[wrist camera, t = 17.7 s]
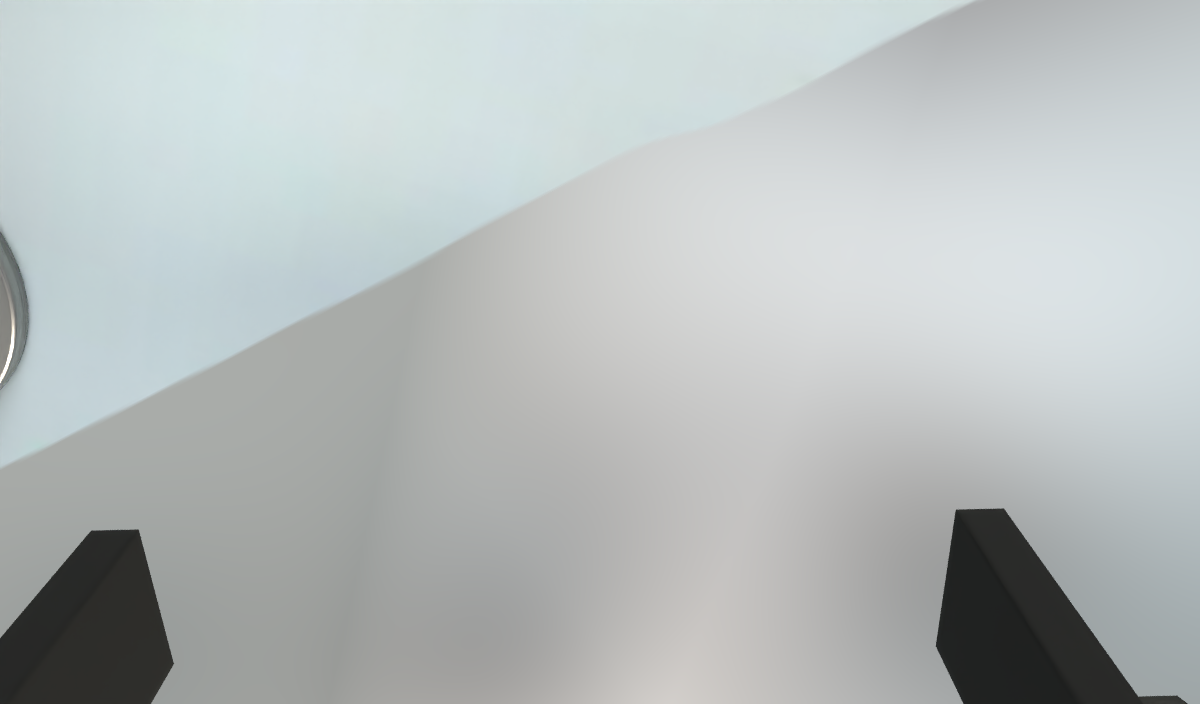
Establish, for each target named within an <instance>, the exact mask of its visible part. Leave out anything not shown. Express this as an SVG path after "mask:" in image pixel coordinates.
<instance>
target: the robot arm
mask: <svg viewBox="0 0 1200 704" xmlns="http://www.w3.org/2000/svg"><path fill="white" fill-rule="evenodd" d="M27 331H28V305H27V297H26V292H25V287H24V283H23V279H22V276H21V273H20V270H19V267H18V265H17V262H16V260H15V258H14V256H13V253H12V251H11V249H10V248H9V246H8V244H7V242H6V240H5V238H4V237H3V235H2V234H1V232H0V389H1V388H2V387H3V386H4V385H5V384H6V382H7V381H8V380H9V378H10V377H11V376H12V374H13V373H14V371H15V369H16V367H17V365H18V363H19V361H20V359H21V356H22V353H23V350H24V347H25V343H26V338H27ZM936 647H937V649H938V652H939V654H940V655H941V658H942V660H943V662H944V664H945V666H946V668H947V670H948V672H949V674H950V676H951V679H952V681H953V683H954V685H955V687H956V689H957V691H958V693H959V695H960V697H961V699H962V701H963V704H1187V703H1186V702H1185V701H1183V700H1182V699H1181V698H1179V697H1178V696H1150V697H1149V696H1146V697H1138V696H1137V694H1136V693H1135V692H1134V690H1133V689H1132V687H1131V686H1130V685H1129V683H1128V682H1127V681H1126V679H1125V678H1124V676H1123V675H1122V673H1121V672H1120V671H1119V669H1118V668H1117V666H1116V665H1115V664H1114V662H1113V661H1112V659H1111V658H1110V657H1109V655H1108V654H1107V652H1106V651H1105V650H1104V648H1103V647H1102V646H1101V644H1100V643H1099V641H1098V640H1097V638H1096V637H1095V636H1094V634H1093V633H1092V631H1091V630H1090V629H1089V627H1088V626H1087V624H1086V623H1085V622H1084V620H1083V619H1082V617H1081V616H1080V615H1079V613H1078V612H1077V610H1076V609H1075V608H1074V606H1073V605H1072V603H1071V602H1070V601H1069V599H1068V598H1067V596H1066V595H1065V594H1064V592H1063V591H1062V589H1061V588H1060V587H1059V585H1058V584H1057V583H1056V581H1055V580H1054V578H1053V577H1052V575H1051V574H1050V573H1049V571H1048V570H1047V568H1046V567H1045V566H1044V564H1043V563H1042V562H1041V560H1040V559H1039V557H1038V556H1037V554H1036V553H1035V552H1034V550H1033V549H1032V547H1031V546H1030V545H1029V543H1028V542H1027V540H1026V539H1025V538H1024V536H1023V535H1022V533H1021V532H1020V531H1019V529H1018V528H1017V527H1016V525H1015V524H1014V522H1013V521H1012V520H1011V518H1010V517H1009V515H1008V514H1007V512H1006V511H1005V510H1004V509H967V510H956V512H955V520H954V526H953V533H952V540H951V546H950V553H949V561H948V568H947V574H946V581H945V587H944V594H943V601H942V608H941V614H940V621H939V628H938V635H937V642H936ZM173 664H174V663H173V659H172V655H171V651H170V648H169V644H168V641H167V636H166V632H165V629H164V625H163V621H162V617H161V613H160V610H159V606H158V602H157V598H156V594H155V590H154V587H153V583H152V579H151V575H150V571H149V567H148V564H147V560H146V556H145V552H144V548H143V545H142V541H141V537H140V533H139V530H104V531H91V532H90V533H89V534H88V535H87V536H86V537H85V539H84V540H83V541H82V542H81V543H80V545H79V546H78V547H77V548H76V549H75V551H74V552H73V553H72V554H71V555H70V556H69V558H68V559H67V560H66V561H65V562H64V563H63V565H62V566H61V567H60V568H59V569H58V571H57V572H56V573H55V574H54V575H53V576H52V578H51V579H50V580H49V581H48V583H47V584H46V585H45V586H44V587H43V588H42V589H41V591H40V592H39V593H38V594H37V596H36V597H35V598H34V599H33V600H32V601H31V603H30V604H29V605H28V606H27V607H26V609H25V610H24V611H23V612H22V613H21V615H20V616H19V617H18V618H17V619H16V620H15V621H14V623H13V624H12V625H11V626H10V627H9V629H8V630H7V631H6V632H5V633H4V635H3V636H2V637H1V638H0V704H151V702H152V701H153V699H154V697H155V695H156V694H157V692H158V690H159V689H160V687H161V685H162V683H163V681H164V680H165V678H166V677H167V675H168V673H169V671H170V669H171V668H172V666H173Z"/></svg>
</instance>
